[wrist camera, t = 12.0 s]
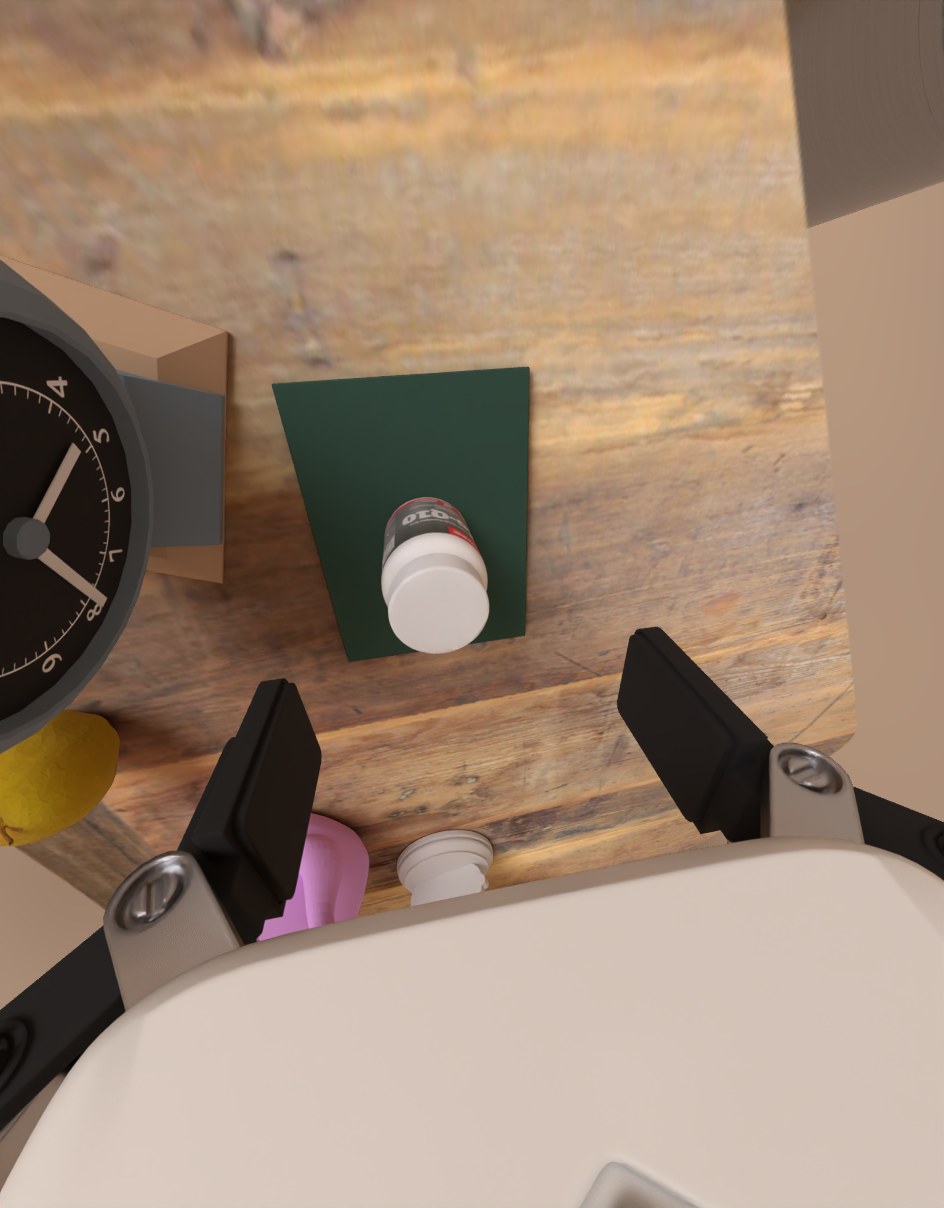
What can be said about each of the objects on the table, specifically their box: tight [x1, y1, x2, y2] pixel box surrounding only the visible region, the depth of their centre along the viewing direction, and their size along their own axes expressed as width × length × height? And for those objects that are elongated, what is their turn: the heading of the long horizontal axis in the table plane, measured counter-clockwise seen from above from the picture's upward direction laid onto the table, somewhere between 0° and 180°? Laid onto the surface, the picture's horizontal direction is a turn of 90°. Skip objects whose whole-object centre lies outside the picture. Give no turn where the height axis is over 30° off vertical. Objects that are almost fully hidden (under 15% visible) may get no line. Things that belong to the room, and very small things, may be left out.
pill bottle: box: [381, 497, 489, 654], centre depth 19 cm, size 5×5×8 cm
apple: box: [0, 710, 120, 846], centre depth 22 cm, size 6×6×8 cm
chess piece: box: [397, 830, 493, 906], centre depth 34 cm, size 10×10×15 cm
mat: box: [272, 367, 530, 662], centre depth 23 cm, size 16×12×1 cm
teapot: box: [258, 813, 369, 941], centre depth 30 cm, size 13×20×11 cm
